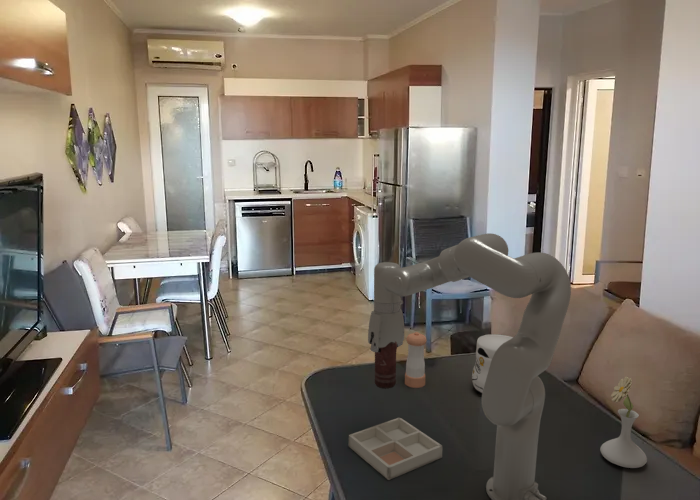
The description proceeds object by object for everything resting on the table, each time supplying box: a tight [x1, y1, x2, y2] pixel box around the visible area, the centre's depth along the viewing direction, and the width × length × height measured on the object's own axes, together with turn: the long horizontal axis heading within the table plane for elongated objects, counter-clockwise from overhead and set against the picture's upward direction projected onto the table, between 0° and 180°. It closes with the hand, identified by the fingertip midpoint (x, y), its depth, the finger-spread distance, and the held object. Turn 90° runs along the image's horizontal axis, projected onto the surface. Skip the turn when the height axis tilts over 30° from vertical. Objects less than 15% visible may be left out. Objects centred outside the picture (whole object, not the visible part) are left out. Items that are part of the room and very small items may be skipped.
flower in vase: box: [599, 376, 648, 469], centre depth 143 cm, size 13×11×25 cm
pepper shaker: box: [404, 331, 428, 389], centre depth 189 cm, size 7×7×19 cm
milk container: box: [471, 333, 514, 394], centre depth 184 cm, size 17×17×18 cm
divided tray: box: [347, 416, 443, 481], centre depth 148 cm, size 18×18×4 cm
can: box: [374, 341, 398, 390], centre depth 155 cm, size 6×6×14 cm
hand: (386, 367), depth 155 cm, fingers closed
